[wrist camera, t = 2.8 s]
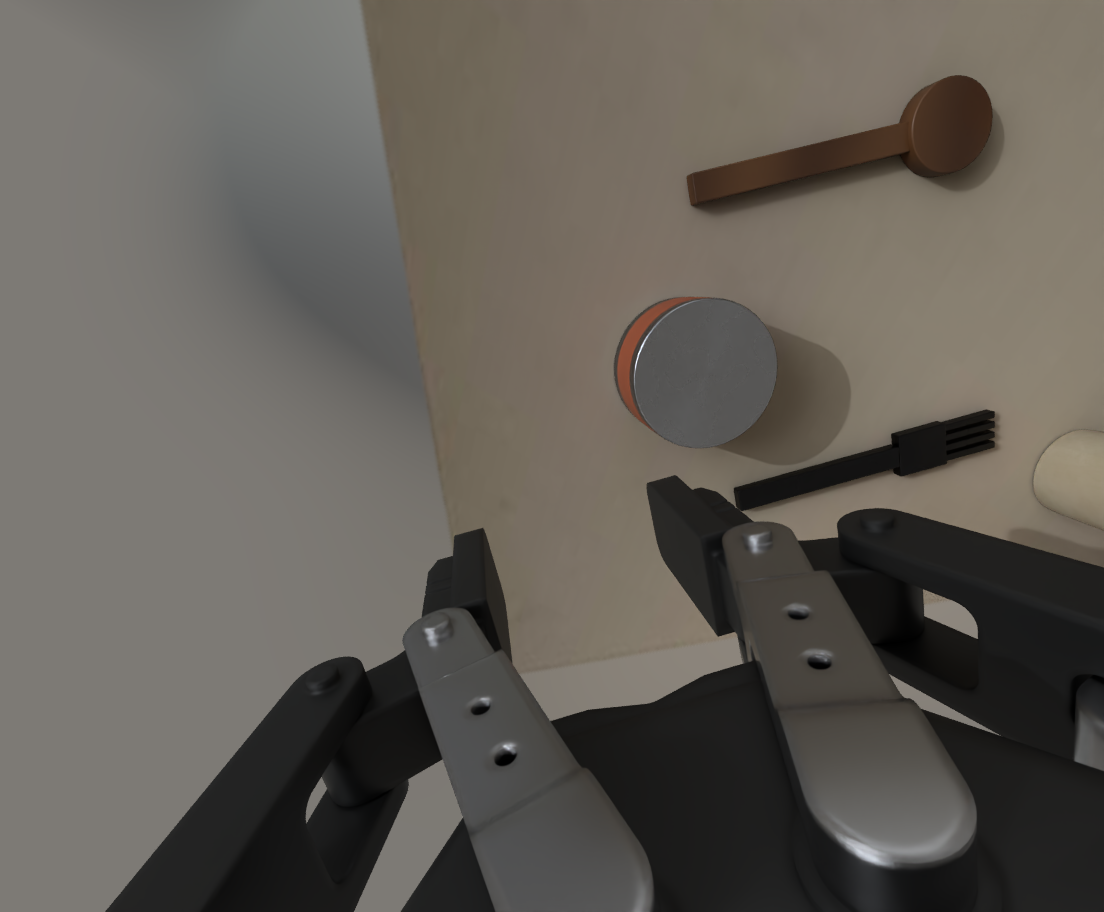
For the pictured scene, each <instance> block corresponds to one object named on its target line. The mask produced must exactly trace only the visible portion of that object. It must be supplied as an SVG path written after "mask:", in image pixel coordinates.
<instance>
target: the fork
mask: <svg viewBox="0 0 1104 912" xmlns="http://www.w3.org/2000/svg"><path fill="white" fill-rule="evenodd" d="M994 417H995V412H994V411H990V410H983V411H980V412H976V413H972V414H969V415H965V416H961V417H958V418H954V419H951V420H947V421H943V422H939V421H936V422H932V423H928V424H925V425H921V426H918V427H914V428H910V429H907V430H903V431H899V432H896V433H892V434H891V438H892V444H890V445H887V446H883V447H879V448H876V449H872V450H869V451H865V452H861V453H858V454H854V455H851V456H847V457H843V458H840V459H836V460H833V461H829V462H825V463H822V464H818V465H815V466H811V467H807V468H804V469H800V470H797V471H793V472H789V473H786V474H782V475H779V476H775V477H772V478H768V479H764V480H761V481H757V482H754V483H750V484H746V485H743V486H739V487H736V488H734V494H735V501H736V507H737V508H738V509H739V510H740V511H744V510H747V509H751V508H755V507H758V506H762V505H765V504H769V503H772V502H776V501H779V500H783V499H787V498H790V497H794V496H797V495H801V494H804V493H808V492H812V491H815V490H819V489H822V488H826V487H829V486H833V485H836V484H840V483H844V482H847V481H851V480H854V479H858V478H861V477H865V476H868V475H872V474H876V473H879V472H883V471H886V470H890V469H893V472H894V474H896V475H899V476H905V475H908V474H912V473H916V472H919V471H923V470H926V469H930V468H933V467H937V466H940V465H944V464H947V461H948V460H951V459H955V458H958V457H962V456H965V455H969V454H973V453H976V452H980V451H983V450H987V449H990V448H994V447H995V442H994V441H991V440H988V439H991V438H994V437H995V432H994V431H990V430H987V429H991V428H994V427H995V422H994V421H990V420H987V419H991V418H994Z"/></svg>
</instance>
